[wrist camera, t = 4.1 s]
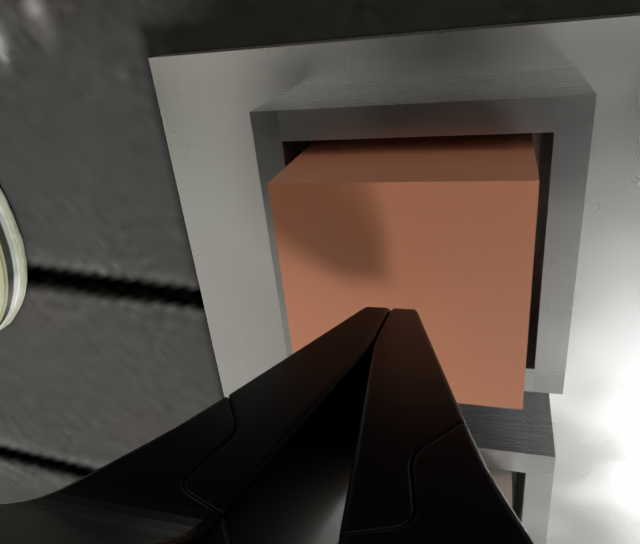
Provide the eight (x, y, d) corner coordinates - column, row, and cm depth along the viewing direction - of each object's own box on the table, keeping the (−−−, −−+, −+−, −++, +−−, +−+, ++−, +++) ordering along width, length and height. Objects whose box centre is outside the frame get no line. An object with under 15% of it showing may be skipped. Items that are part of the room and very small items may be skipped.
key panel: (796, -2, 11) (918, 10, 8) (624, 691, 22) (645, 817, 18) (164, 54, 15) (71, 76, 12) (282, 612, 26) (251, 704, 22)
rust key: (531, 131, 11) (540, 180, 8) (519, 323, 13) (522, 409, 10) (316, 139, 12) (267, 182, 10) (335, 312, 14) (297, 386, 12)
